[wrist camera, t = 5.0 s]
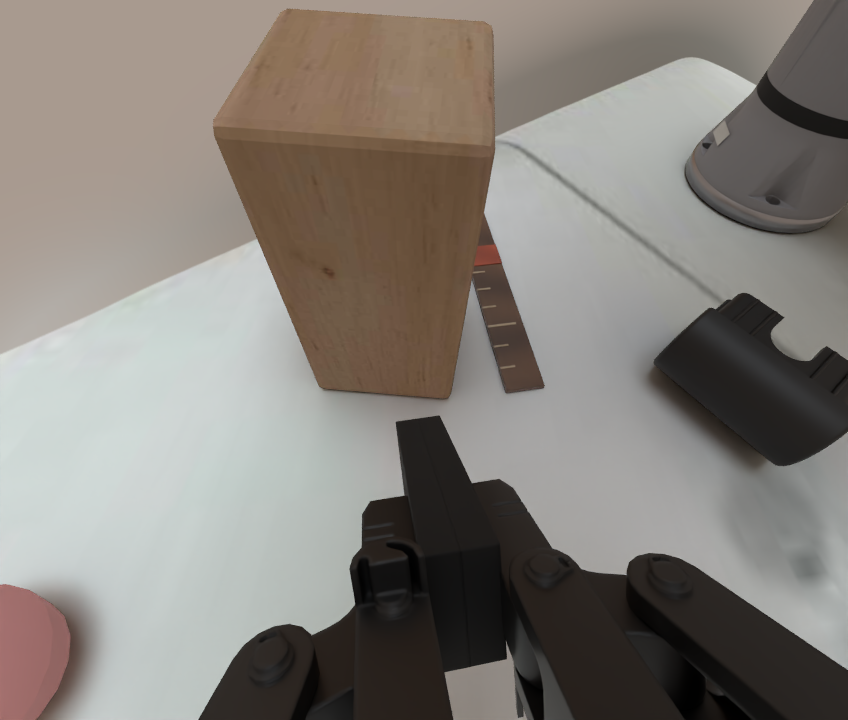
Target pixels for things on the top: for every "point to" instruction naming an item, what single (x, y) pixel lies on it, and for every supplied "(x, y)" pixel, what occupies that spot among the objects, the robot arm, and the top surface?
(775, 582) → the top surface
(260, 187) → the wooden block
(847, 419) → the end cap
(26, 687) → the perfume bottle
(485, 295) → the ruler
